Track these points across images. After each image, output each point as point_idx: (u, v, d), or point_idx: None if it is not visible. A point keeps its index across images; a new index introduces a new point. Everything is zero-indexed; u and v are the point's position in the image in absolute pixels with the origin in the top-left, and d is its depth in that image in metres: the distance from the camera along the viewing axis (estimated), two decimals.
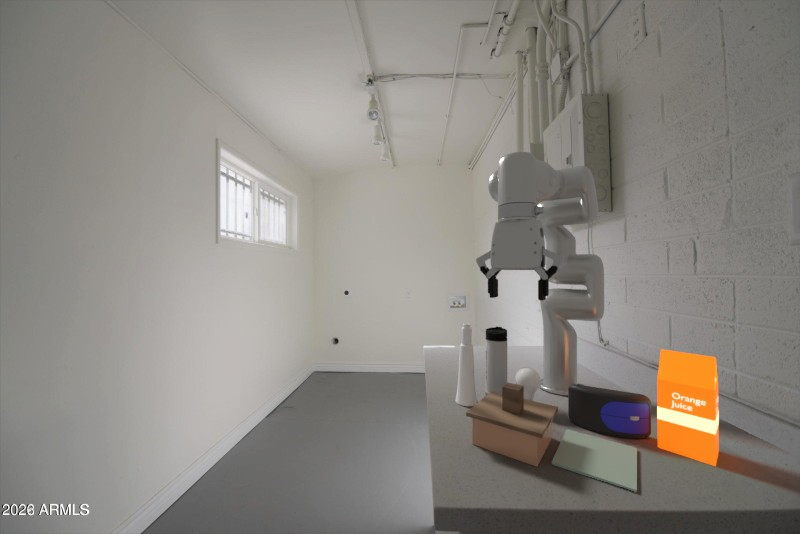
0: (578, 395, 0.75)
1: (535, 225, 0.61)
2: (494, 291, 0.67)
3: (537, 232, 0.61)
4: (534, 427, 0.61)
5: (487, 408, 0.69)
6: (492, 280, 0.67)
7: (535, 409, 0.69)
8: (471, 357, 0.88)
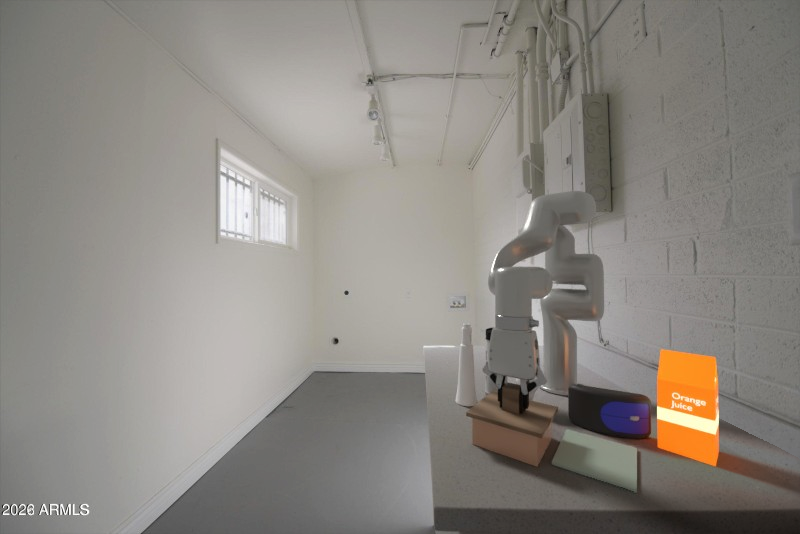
0: (578, 395, 0.75)
1: (530, 339, 0.65)
2: None
3: (532, 346, 0.65)
4: (534, 427, 0.61)
5: (487, 408, 0.69)
6: None
7: (535, 409, 0.69)
8: (471, 357, 0.88)
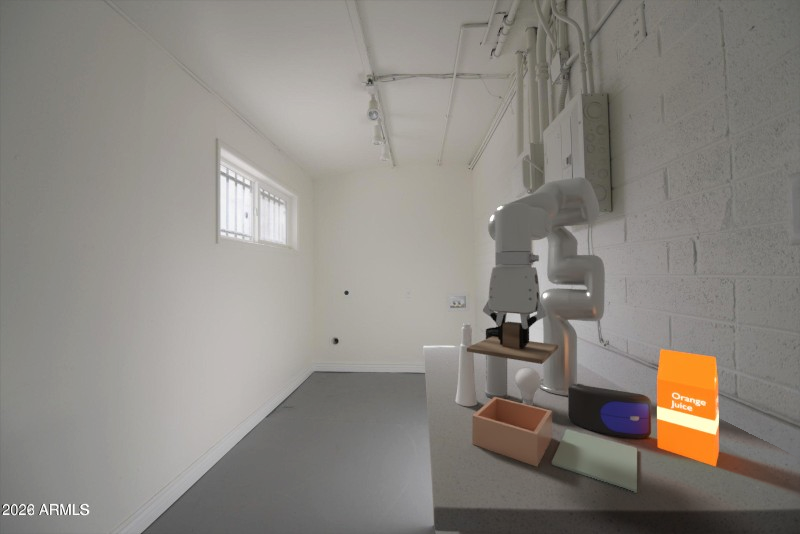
0: (578, 395, 0.75)
1: (530, 273, 0.65)
2: None
3: (532, 280, 0.65)
4: (534, 356, 0.61)
5: (487, 345, 0.69)
6: (502, 328, 0.69)
7: (535, 346, 0.69)
8: (471, 357, 0.88)
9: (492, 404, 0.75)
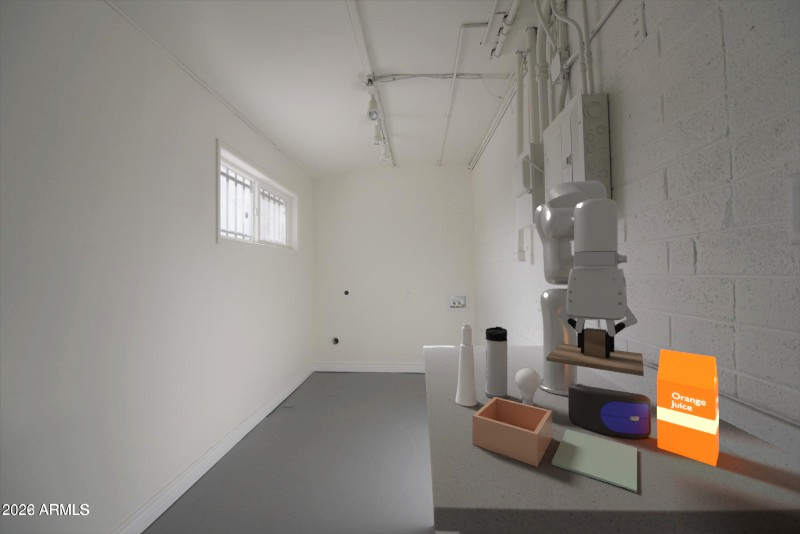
0: (578, 395, 0.75)
1: (619, 275, 0.60)
2: None
3: (621, 282, 0.59)
4: (631, 367, 0.55)
5: (567, 354, 0.64)
6: (583, 335, 0.63)
7: (619, 355, 0.63)
8: (471, 357, 0.88)
9: (492, 404, 0.75)
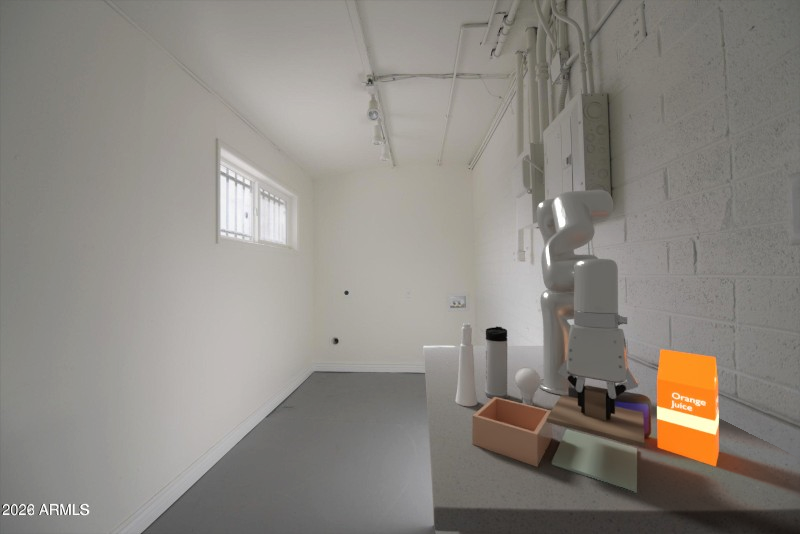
0: None
1: (619, 338, 0.59)
2: None
3: (622, 345, 0.59)
4: (632, 435, 0.55)
5: (567, 413, 0.63)
6: (584, 394, 0.63)
7: (620, 415, 0.63)
8: (471, 357, 0.88)
9: (492, 404, 0.75)
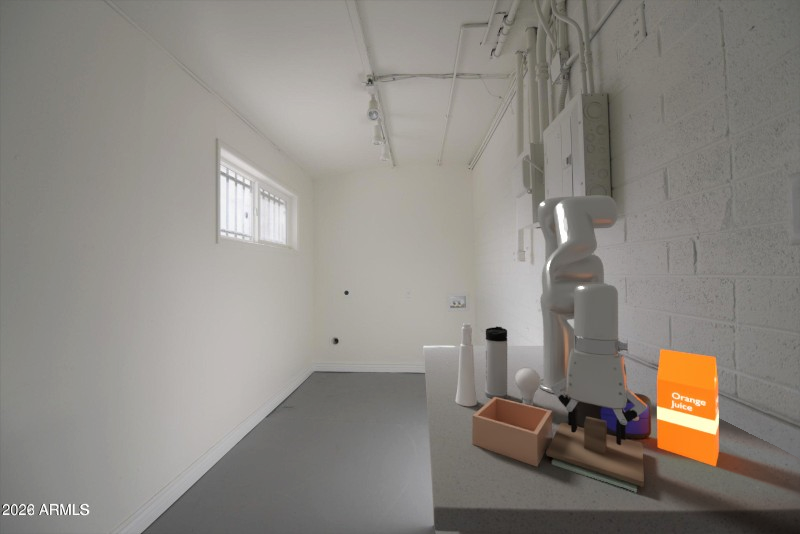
0: None
1: (619, 365, 0.59)
2: (575, 425, 0.64)
3: (622, 372, 0.59)
4: (631, 472, 0.55)
5: (567, 445, 0.63)
6: (574, 414, 0.64)
7: (619, 447, 0.63)
8: (471, 357, 0.88)
9: (492, 404, 0.75)
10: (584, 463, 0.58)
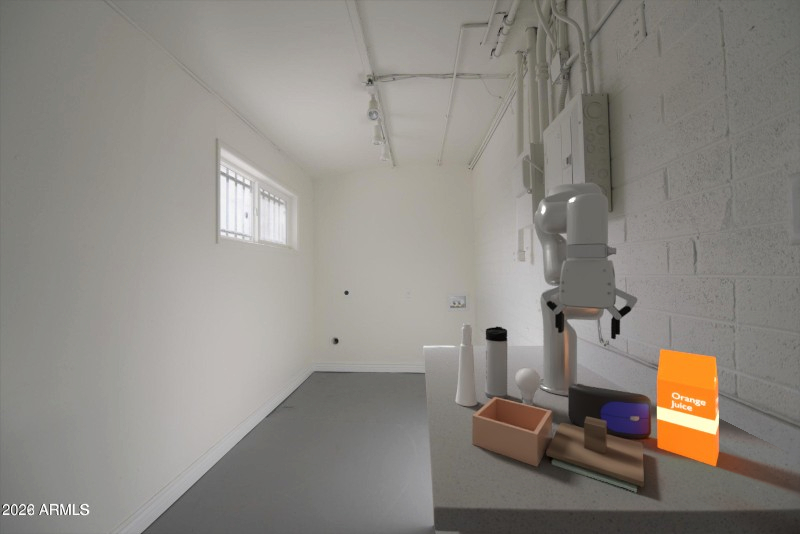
0: (578, 395, 0.75)
1: (609, 266, 0.63)
2: (562, 326, 0.69)
3: (611, 273, 0.63)
4: (631, 472, 0.55)
5: (567, 445, 0.63)
6: (561, 316, 0.69)
7: (619, 447, 0.63)
8: (471, 357, 0.88)
9: (492, 404, 0.75)
10: (584, 463, 0.58)
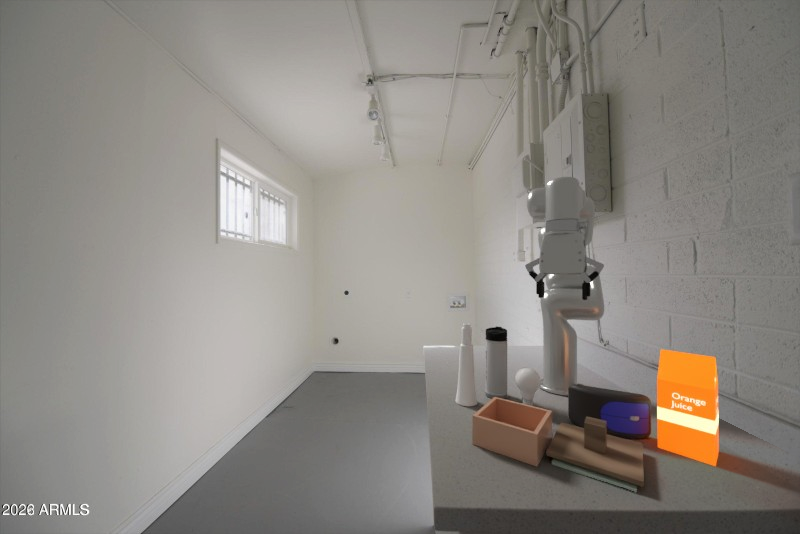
0: (578, 395, 0.75)
1: (579, 238, 0.74)
2: (542, 292, 0.80)
3: (581, 243, 0.74)
4: (631, 472, 0.55)
5: (567, 445, 0.63)
6: (541, 283, 0.79)
7: (619, 447, 0.63)
8: (471, 357, 0.88)
9: (492, 404, 0.75)
10: (584, 463, 0.58)
